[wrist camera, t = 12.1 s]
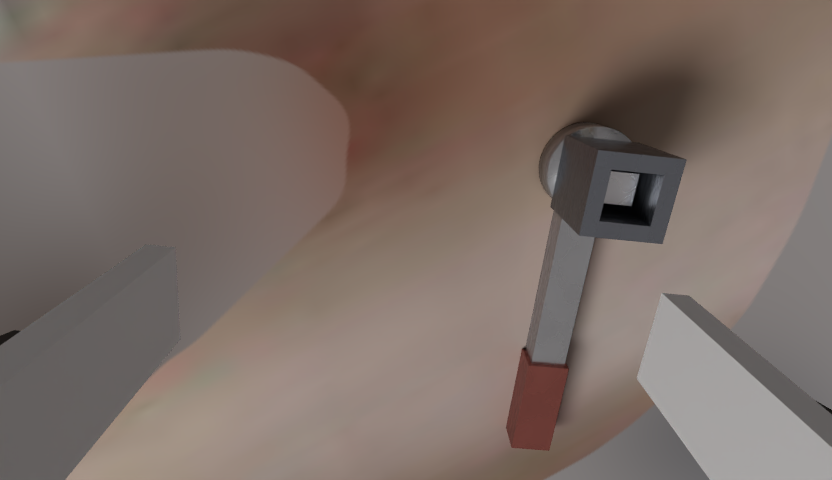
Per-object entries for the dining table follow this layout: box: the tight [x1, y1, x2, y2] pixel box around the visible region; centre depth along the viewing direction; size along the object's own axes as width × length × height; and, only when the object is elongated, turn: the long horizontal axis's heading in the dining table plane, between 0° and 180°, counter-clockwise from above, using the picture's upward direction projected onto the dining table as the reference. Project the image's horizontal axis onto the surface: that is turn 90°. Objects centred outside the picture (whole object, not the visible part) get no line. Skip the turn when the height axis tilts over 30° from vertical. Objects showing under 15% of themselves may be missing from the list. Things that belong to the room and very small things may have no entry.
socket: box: [551, 135, 686, 244], centre depth 35 cm, size 6×6×7 cm
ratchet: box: [506, 122, 640, 451], centre depth 42 cm, size 30×7×8 cm, turn 174°
